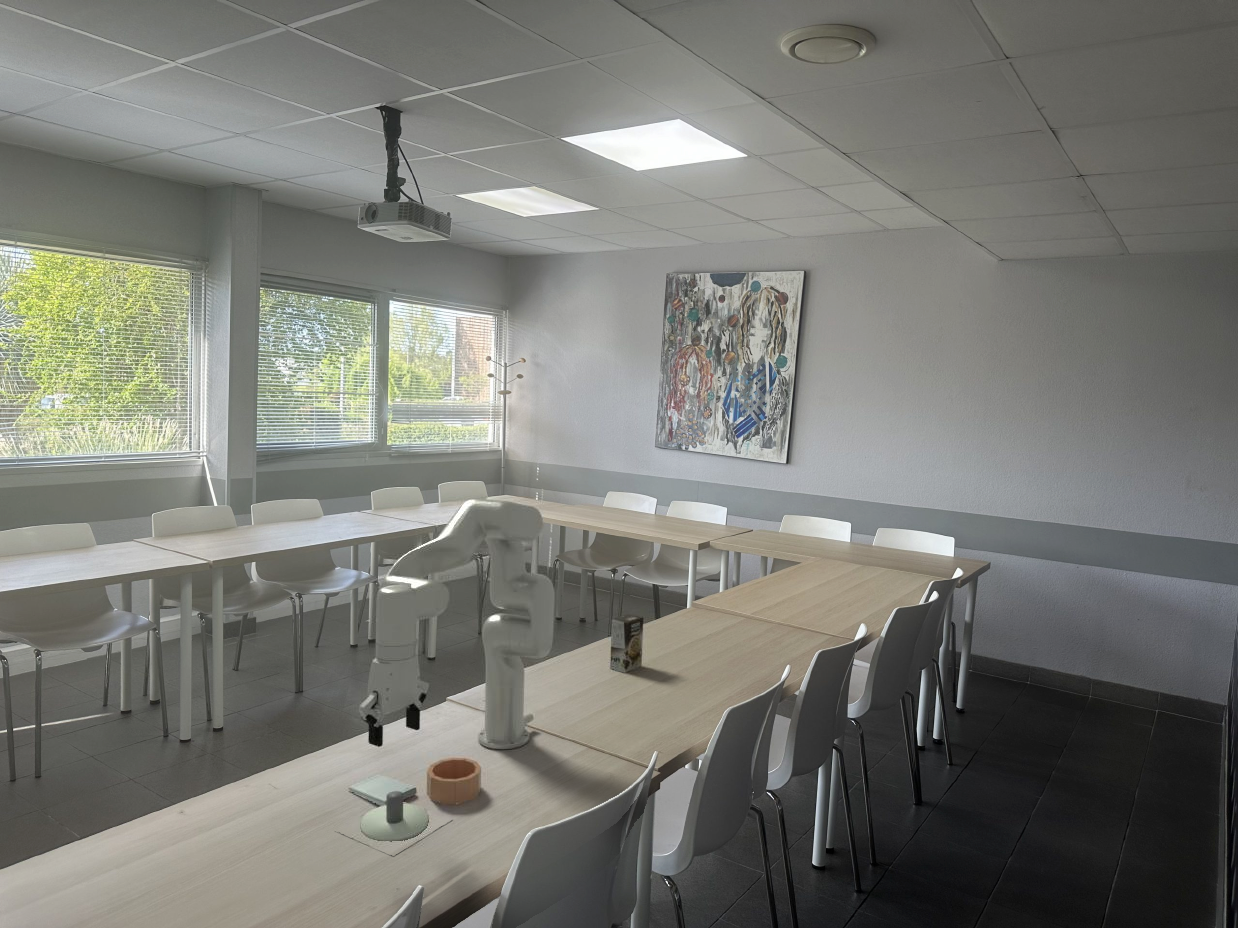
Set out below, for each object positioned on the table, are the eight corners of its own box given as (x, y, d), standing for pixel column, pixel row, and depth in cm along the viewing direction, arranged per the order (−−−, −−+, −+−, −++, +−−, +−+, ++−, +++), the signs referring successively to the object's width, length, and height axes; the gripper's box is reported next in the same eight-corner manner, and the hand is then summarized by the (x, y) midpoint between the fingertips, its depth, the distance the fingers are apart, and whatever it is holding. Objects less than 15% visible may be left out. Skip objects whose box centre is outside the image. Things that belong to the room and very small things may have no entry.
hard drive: (416, 786, 176) (380, 772, 183) (384, 800, 169) (348, 785, 177) (416, 794, 176) (380, 779, 183) (384, 808, 169) (348, 793, 177)
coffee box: (625, 673, 258) (627, 622, 257) (609, 668, 262) (610, 618, 260) (642, 666, 265) (644, 616, 264) (626, 661, 269) (628, 613, 268)
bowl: (452, 777, 185) (452, 753, 185) (490, 790, 180) (490, 766, 179) (416, 796, 176) (416, 771, 175) (455, 811, 170) (456, 785, 170)
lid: (395, 802, 172) (395, 773, 172) (442, 820, 165) (442, 790, 165) (345, 829, 161) (345, 799, 161) (393, 850, 154) (393, 818, 154)
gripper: (414, 636, 170) (412, 718, 171) (346, 657, 155) (345, 746, 156) (441, 643, 166) (440, 726, 167) (375, 665, 151) (374, 756, 152)
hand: (394, 736), depth 161 cm, fingers open, 9 cm apart
